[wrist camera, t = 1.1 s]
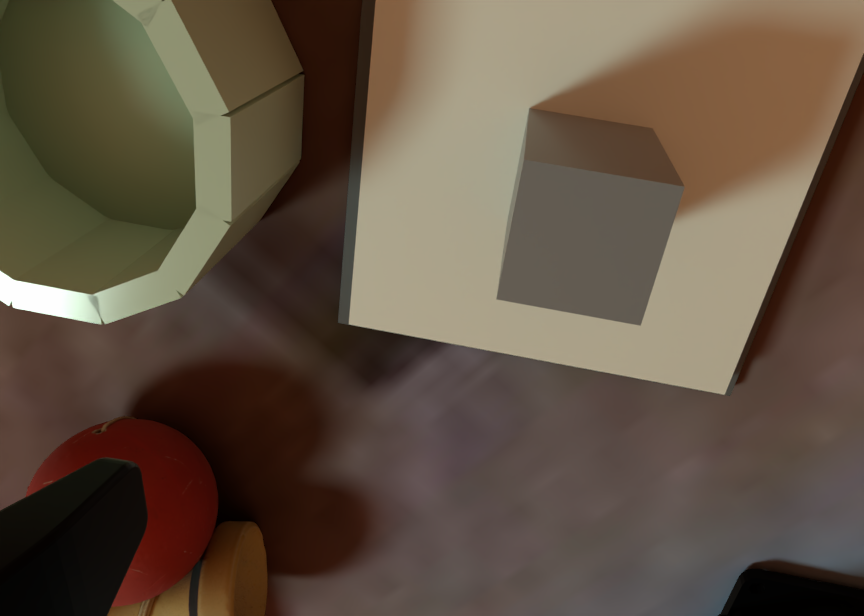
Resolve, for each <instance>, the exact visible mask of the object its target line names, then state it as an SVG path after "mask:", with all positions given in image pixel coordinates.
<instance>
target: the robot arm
mask: <svg viewBox="0 0 864 616" xmlns="http://www.w3.org/2000/svg"><path fill="white" fill-rule="evenodd" d="M147 522H148V511H147V504H146V498H145V492H144V486H143V479H142V473H141V470H140V467H139V466H138V465H137V464H136V463H134V462H133V461H127V460H121V459H115V458H109V457H105V458H99V459H97V460H95V461H93V462H91V463H89V464H87V465H85V466H83V467H81V468H80V469H78V470H76V471H74V472H72V473H70V474H68V475H66V476H65V477H63V478H61V479H59V480H57V481H55V482H53V483H51V484H49V485H48V486H46V487H44V488H42V489H40V490H38V491H36V492H34V493H33V494H31V495H29V496H27V497H25V498H23V499H21V500H19V501H17V502H16V503H14V504H12V505H10V506H8V507H6V508H4V509H2V510H1V511H0V616H107V615H108V613H109V611H110V608H111V606H112V604H113V602H114V600H115V598H116V595H117V593H118V591H119V589H120V587H121V584H122V582H123V580H124V578H125V576H126V573H127V571H128V569H129V567H130V565H131V562H132V560H133V558H134V556H135V554H136V551H137V549H138V547H139V545H140V543H141V540H142V538H143V536H144V533H145V530H146V527H147ZM755 583H758V584H755ZM718 616H864V590H859V589H854V588H849V587H844V586H839V585H834V584H829V583H824V582H819V581H814V580H809V579H804V578H799V577H795V576H790V575H785V574H780V573H775V572H770V571H765V570H760V569H750V570H746V571H744V572H743V573H742V574H741V575H740V576H739V578H738V580H737V582H736V584H735V586H734V588H733V590H732V592H731V594H730V596H729V598H728V600H727V602H726V604H725V606H724V608H723V610H722V612H721V614H719V615H718Z"/></svg>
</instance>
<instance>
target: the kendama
mask: <svg viewBox="0 0 864 616" xmlns="http://www.w3.org/2000/svg"><path fill="white" fill-rule="evenodd" d="M105 457H109V458H115V459H121V460H127V461H133V462H134V463H136V464H137V465H138V466H139V467H140V470H141V473H142V479H143V486H144V492H145V498H146V504H147V511H148V522H147V527H146V530H145V533H144V536H143V538H142V540H141V543H140V545H139V547H138V549H137V551H136V554H135V556H134V558H133V560H132V562H131V565H130V567H129V569H128V571H127V573H126V576H125V578H124V580H123V582H122V584H121V587H120V589H119V591H118V593H117V595H116V598H115V600H114V602H113V604H112V606H111V608H110V611H109V613H108V615H107V616H265V610H266V600H267V583H268V574H267V560H266V551H265V547H264V542H263V536H262V533H261V531H260V529H259V527H258V525H257V524H256V523H254V522H249V521H225V522H222V523H220V524H219V525H218V526H217V527H216V529H215V530H214V528H215V525H216V519H217V514H218V491H217V485H216V481H215V477H214V474H213V472H212V469H211V467H210V465H209V463H208V461H207V459H206V458H205V456H204V455H203V453H202V452H201V451H200V449H199V448H198V447H197V446H196V445H195V444H194V443H193V442H192V441H191V440H190V439H189V438H187V437H186V436H185V435H184V434H182V433H181V432H179V431H177V430H176V429H174V428H172V427H169V426H167V425H165V424H162V423H159V422H156V421H152V420H144V419H135V418H134V417H129V416H123V417H119V418H115V419H113V420H111V421H109V422H105V423H101V424H98V425H95V426H93V427H90V428H88V429H86V430H84V431H82V432H80V433H78V434H76V435H74V436H73V437H71V438H70V439H68V440H67V441H65V442H64V443H63V444H61V445H60V446H59V447H58V448H57V449H56V450H55V451H53V452H52V453H51V454H50V455H49V456H48V458H47V459H46V460H45V461H44V462H43V463H42V465H41V466H40V467H39V469H38V470H37V472H36V474H35V475H34V477H33V479H32V481H31V483H30V486H29V487H28V491H27V494H26V497H27V496H29V495H31V494H33V493H34V492H36V491H38V490H40V489H42V488H44V487H46V486H48V485H49V484H51V483H53V482H55V481H57V480H59V479H61V478H63V477H65V476H66V475H68V474H70V473H72V472H74V471H76V470H78V469H80V468H81V467H83V466H85V465H87V464H89V463H91V462H93V461H95V460H97V459H99V458H105Z"/></svg>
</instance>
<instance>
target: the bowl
mask: <svg viewBox="0 0 864 616" xmlns="http://www.w3.org/2000/svg"><path fill="white" fill-rule="evenodd" d="M302 71H303V68H302V66H301V64H300V62H299V60H298V58H297V55H296V53H295V51H294V49H293V47H292V45H291V42H290V40H289V38H288V36H287V34H286V32H285V29H284V27H283V25H282V23H281V21H280V19H279V16H278V14H277V12H276V10H275V8H274V6H273V4H272V1H271V0H0V300H1V301H2V302H4V303H5V304H7V305H8V306H10V305H11V304H13V308H18V309H23V310H28V311H33V312H39V313H44V314H49V315H54V316H60V317H65V318H70V319H75V320H80V321H86V322H91V323H96V324H103V323H105V324H108V323H111V322H113V321H116V320H119V319H122V318H125V317H128V316H131V315H134V314H136V313H139V312H142V311H145V310H148V309H151V308H154V307H157V306H159V305H162V304H165V303H168V302H171V301H174V300H177V299H180V298H182V297H183V296H184V295H185V294H186V293H187V292H188V291H189V290H190V289H191V288H192V287H193V286H194V285H195V284H196V283H197V282H198V281H199V280H200V279H201V278H202V277H203V276H204V275H205V274H206V273H207V272H208V271H209V270H210V269H211V268H212V267H213V266H214V265H216V264H217V263H218V262H219V261H220V260H221V259H222V258H223V257H224V256H225V255H226V254H227V253H228V252H229V251H230V250H231V249H232V248H233V247H234V246H235V245H236V244H237V243H238V242H239V241H240V240H241V239H242V238H243V237H244V236H245V235H246V234H247V233H248V232H249V231H250V230H251V229H252V228H253V227H254V226H255V225H256V224H257V223H258V222H259V221H260V220H261V218H262V217H263V215H264V214H265V212H266V211H267V209H268V208H269V207H270V205H271V204H272V202H273V201H274V199H275V198H276V196H277V195H278V193H279V192H280V190H281V189H282V188H283V186H284V185H285V183H286V182H287V180H288V179H289V177H290V176H291V174H292V173H293V172H294V170H295V169H296V167H297V166H298V164H299V163H300V162H299V160H300V159H301V148H302V123H303V98H304V75H302V74H299V73H300V72H302Z"/></svg>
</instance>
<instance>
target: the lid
mask: <svg viewBox="0 0 864 616" xmlns="http://www.w3.org/2000/svg"><path fill="white" fill-rule="evenodd" d="M863 54H864V0H376V2H375V14H374V26H373V38H372V50H371V62H370V74H369V86H368V98H367V110H366V122H365V134H364V146H363V158H362V170H361V182H360V194H359V206H358V218H357V230H356V242H355V254H354V266H353V278H352V290H351V302H350V314H349V324H350V325H355V326H360V327H366V328H371V329H376V330H382V331H387V332H392V333H398V334H403V335H408V336H414V337H419V338H424V339H430V340H435V341H440V342H446V343H451V344H456V345H462V346H467V347H472V348H478V349H483V350H488V351H494V352H499V353H504V354H510V355H515V356H520V357H526V358H531V359H536V360H542V361H547V362H552V363H558V364H563V365H568V366H574V367H579V368H584V369H590V370H595V371H601V372H606V373H611V374H617V375H622V376H627V377H633V378H638V379H643V380H649V381H654V382H659V383H665V384H670V385H675V386H681V387H686V388H691V389H697V390H702V391H707V392H713V393H718V394H723V395H725V393H726V390H727V388H728V385H729V383H730V380H731V378H732V375H733V373H734V371H735V368H736V366H737V363H738V361H739V358H740V356H741V353H742V351H743V348H744V346H745V343H746V341H747V339H748V336H749V334H750V331H751V329H752V326H753V324H754V321H755V319H756V316H757V314H758V312H759V309H760V307H761V304H762V302H763V299H764V297H765V294H766V292H767V289H768V287H769V285H770V282H771V280H772V277H773V275H774V272H775V270H776V267H777V265H778V262H779V260H780V258H781V255H782V253H783V250H784V248H785V245H786V243H787V240H788V238H789V235H790V233H791V230H792V228H793V226H794V223H795V221H796V218H797V216H798V213H799V211H800V208H801V206H802V203H803V201H804V199H805V196H806V194H807V191H808V189H809V186H810V184H811V181H812V179H813V176H814V174H815V172H816V169H817V167H818V164H819V162H820V159H821V157H822V154H823V152H824V149H825V147H826V144H827V142H828V140H829V137H830V135H831V132H832V130H833V127H834V125H835V122H836V120H837V117H838V115H839V113H840V110H841V108H842V105H843V103H844V100H845V98H846V95H847V93H848V90H849V88H850V86H851V83H852V81H853V78H854V76H855V73H856V71H857V68H858V66H859V63H860V61H861V58H862V56H863Z"/></svg>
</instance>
